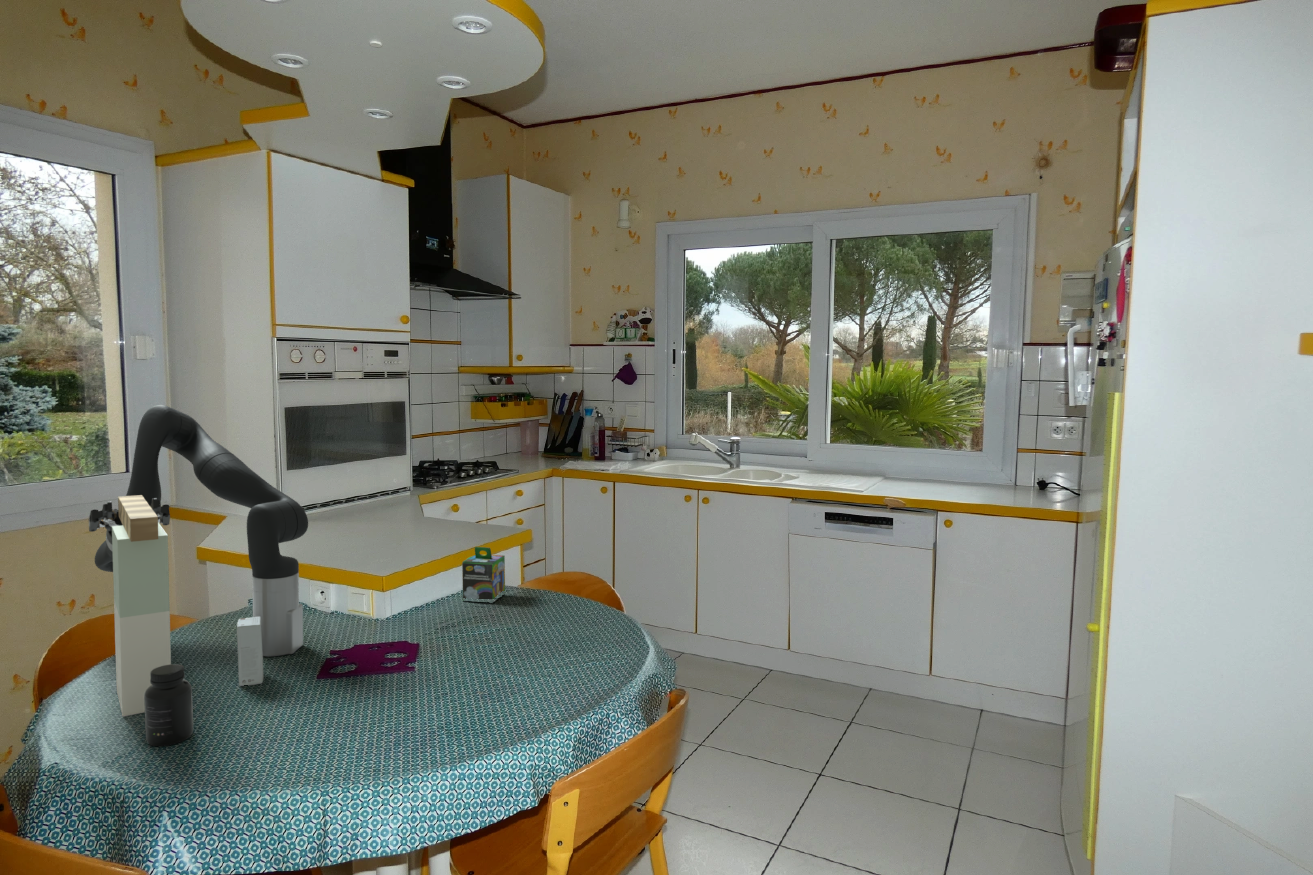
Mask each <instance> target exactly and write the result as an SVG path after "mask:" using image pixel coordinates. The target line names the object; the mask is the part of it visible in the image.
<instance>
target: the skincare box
mask: <svg viewBox="0 0 1313 875" xmlns="http://www.w3.org/2000/svg"><path fill="white" fill-rule="evenodd" d="M236 624H237V625H236V642H237V663H238V664H237V668H238V670H237V672H238V686H239V687H245V686H244V685H248V686H253V685H259V684H262V683H263V681H264V656H263V654H262V633H261V617H253V616H251V617H243V618H238V619H237V623H236Z"/></svg>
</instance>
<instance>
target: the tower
mask: <svg viewBox="0 0 1313 875" xmlns="http://www.w3.org/2000/svg"><path fill="white" fill-rule="evenodd" d="M162 526H163V525H161V523H160V522H158V539H155V540H145V541H134V542H131V541H130V539H129V536H128V534H127V532H126V530H125V528H124V526H123V525H122V526H112V550H113V572H112V576H113V578H112V579H113V605H114V606H113V607H114V608H113V610H114V611H113V612H114V645H115V646H114V647H115V675H116V676H115V677H116V678H115V681H116V693H117V697H118V702H119V707H120V711H121V716H122V717H129V716H133V715H137V714H141V713H145V706H144V694H145V691H146V690H147V688H148V687H150V686H151V685H152V684H151V683H150V679H151V677H150V672H151V671H152V670H153V669H155V668H158V667H161V666H164V665H170V664H172V656H171V655H172V654H171V652H172V649H171V648H172V647H171V610H170V609H171V607H170V573H169V572H170V571H169V570H170V568H169V565H170V564H169V535H168V533H167V532H166V531H165V529H164V528H163V527H162Z"/></svg>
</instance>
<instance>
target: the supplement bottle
mask: <svg viewBox="0 0 1313 875" xmlns="http://www.w3.org/2000/svg"><path fill="white" fill-rule="evenodd" d="M150 677H151V679H150V683H151V684H152V685H151V686H150V687H148V688H147V690H146V691H145V694H144V706H145V712H144V723H145V724H144V726H145V740H146V743H147V744H148V745H150V746H153V747H168V746H173V745H177V744H179V743H182V742H184V741H186V740H187V739H189V738H191V736H192V735H193V732H194V711H193V710H194V707H193V687H192V684H191V683H190V682H189V681H188V680H187V679H185V678H186V675H185V667H184V665H182V664H180V663H179V664H177V663H174V664H172V663H171V664H170V665H164V666H161V667H158V668H155V669H153V670H152V671H151V672H150Z"/></svg>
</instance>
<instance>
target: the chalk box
mask: <svg viewBox="0 0 1313 875" xmlns="http://www.w3.org/2000/svg"><path fill="white" fill-rule="evenodd" d="M491 550H492V548H491V547H486V546H475V547H474V554H475V555H472V556H469V557H467V558H466V559H465V560H463V561H462V562H461V563H462V564H461V568H462V570H461V571H462V572H461V573H462V599H463V598H465V599H466V598H468V599H470V598H473V599H494V598H495V597H496V596H497V595H499V594H500V593H501V592H502V591H505V592H506V569H505V568H506V566H505V565H506V564H505V562H506V561H505V560H506V559H505V558H506V557H505V555H501V554H492V551H491ZM480 552H485V553H486V554H481V553H480Z"/></svg>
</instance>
